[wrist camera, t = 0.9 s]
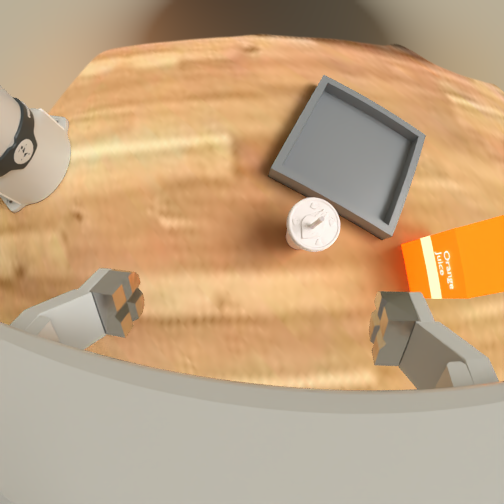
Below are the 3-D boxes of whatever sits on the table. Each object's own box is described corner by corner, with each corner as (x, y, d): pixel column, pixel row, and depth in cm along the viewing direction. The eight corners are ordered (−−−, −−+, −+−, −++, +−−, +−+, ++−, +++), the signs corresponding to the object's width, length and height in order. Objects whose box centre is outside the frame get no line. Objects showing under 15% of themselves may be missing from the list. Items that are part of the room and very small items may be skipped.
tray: (268, 176, 47) (270, 168, 43) (318, 86, 49) (323, 75, 46) (382, 239, 47) (392, 236, 43) (416, 143, 49) (425, 135, 46)
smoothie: (267, 238, 46) (281, 216, 32) (295, 206, 46) (320, 173, 33) (300, 268, 45) (329, 258, 32) (328, 235, 46) (365, 214, 32)
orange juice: (435, 235, 47) (519, 210, 28) (445, 286, 47) (532, 281, 27) (399, 244, 47) (483, 218, 27) (410, 298, 46) (497, 299, 26)
